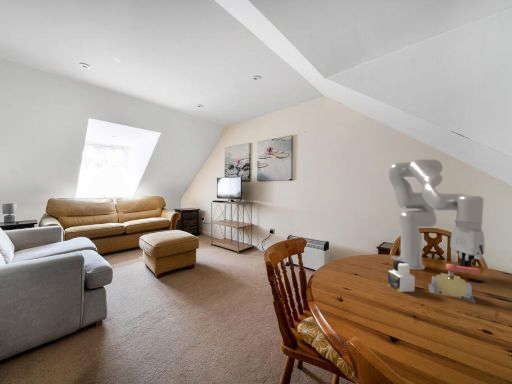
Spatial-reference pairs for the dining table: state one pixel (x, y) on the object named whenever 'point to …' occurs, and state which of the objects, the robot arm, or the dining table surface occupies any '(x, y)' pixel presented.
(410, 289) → the medicine bottle
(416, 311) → the dining table surface
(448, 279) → the valve
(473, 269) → the lever
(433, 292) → the mat
